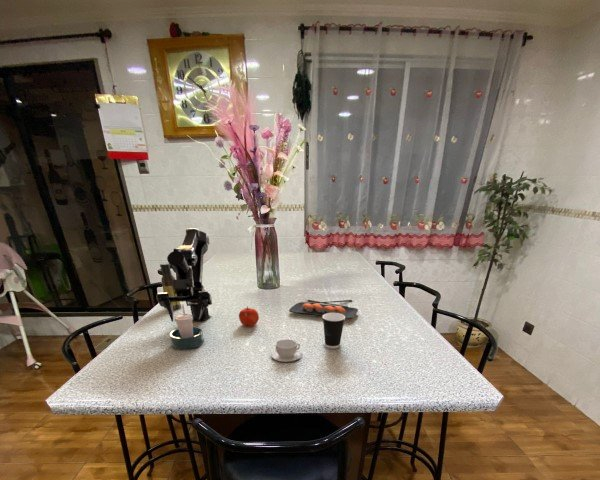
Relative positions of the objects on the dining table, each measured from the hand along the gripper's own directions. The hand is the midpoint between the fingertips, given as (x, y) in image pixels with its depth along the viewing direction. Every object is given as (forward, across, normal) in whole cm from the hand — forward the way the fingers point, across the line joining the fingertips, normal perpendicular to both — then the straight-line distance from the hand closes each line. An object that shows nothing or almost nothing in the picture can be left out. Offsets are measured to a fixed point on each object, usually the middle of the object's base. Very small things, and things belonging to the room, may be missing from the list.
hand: (185, 320), depth 129 cm
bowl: (+7, 0, +4) cm, 9 cm away
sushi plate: (-16, +58, +28) cm, 67 cm away
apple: (-4, +22, +16) cm, 28 cm away
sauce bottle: (-24, -13, +36) cm, 45 cm away
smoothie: (+7, 0, +4) cm, 8 cm away
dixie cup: (+14, +52, -2) cm, 54 cm away
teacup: (+18, +35, -6) cm, 40 cm away
